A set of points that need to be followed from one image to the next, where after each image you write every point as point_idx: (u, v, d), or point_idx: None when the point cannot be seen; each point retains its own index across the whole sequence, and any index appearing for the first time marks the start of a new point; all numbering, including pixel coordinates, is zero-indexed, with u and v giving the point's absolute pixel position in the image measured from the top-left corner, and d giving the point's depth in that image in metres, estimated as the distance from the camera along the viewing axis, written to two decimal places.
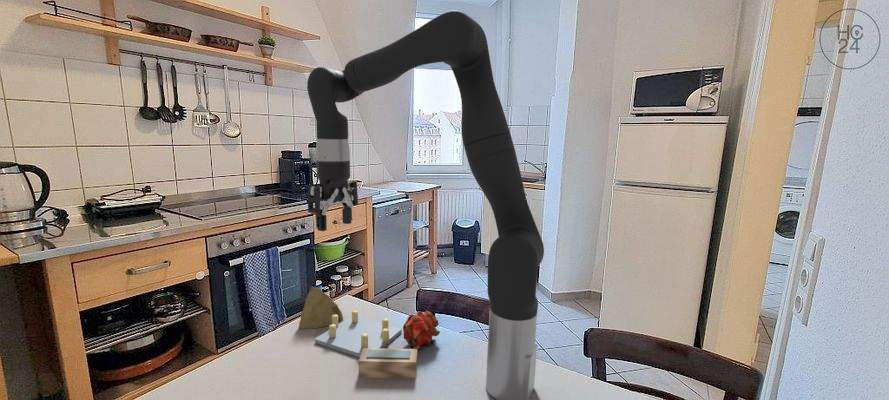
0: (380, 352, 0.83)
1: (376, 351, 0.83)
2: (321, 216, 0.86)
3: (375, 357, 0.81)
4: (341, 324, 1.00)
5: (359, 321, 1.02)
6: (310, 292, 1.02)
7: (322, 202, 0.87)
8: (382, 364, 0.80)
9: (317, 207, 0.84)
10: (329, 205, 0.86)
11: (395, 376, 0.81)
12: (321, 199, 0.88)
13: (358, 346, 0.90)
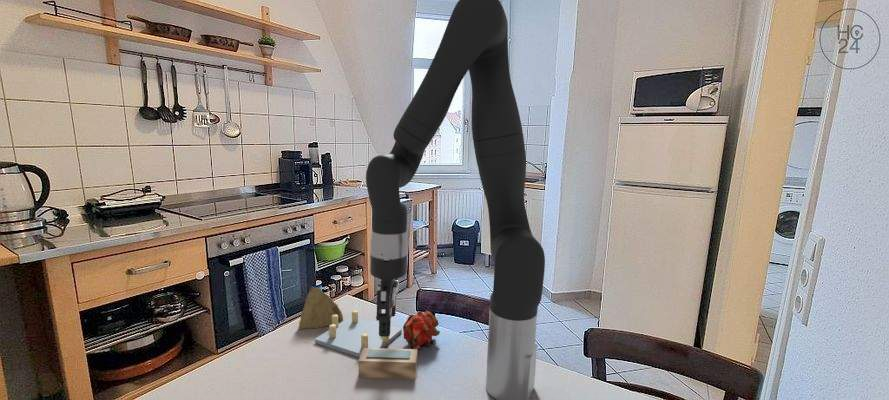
0: (380, 352, 0.83)
1: (376, 351, 0.83)
2: None
3: (375, 357, 0.81)
4: (341, 324, 1.00)
5: (359, 321, 1.02)
6: (310, 292, 1.02)
7: None
8: (382, 364, 0.80)
9: None
10: None
11: (395, 376, 0.80)
12: None
13: (358, 346, 0.90)
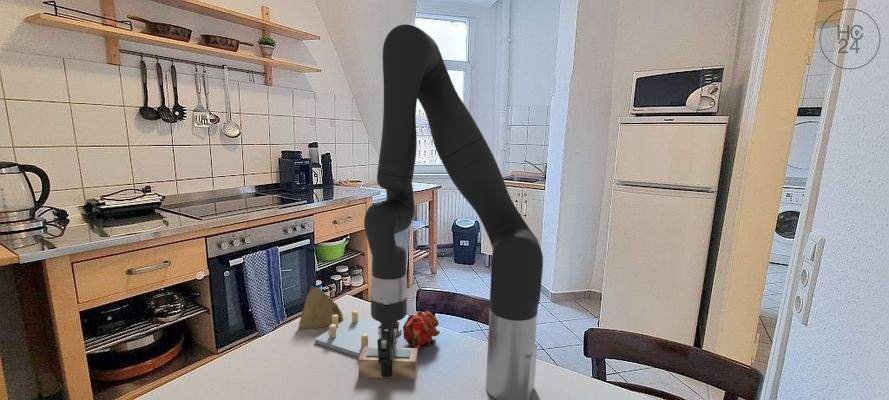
0: None
1: (376, 350, 0.83)
2: None
3: (375, 356, 0.81)
4: (341, 324, 1.00)
5: (359, 321, 1.02)
6: (310, 292, 1.02)
7: None
8: None
9: None
10: None
11: (395, 375, 0.80)
12: None
13: (358, 346, 0.90)
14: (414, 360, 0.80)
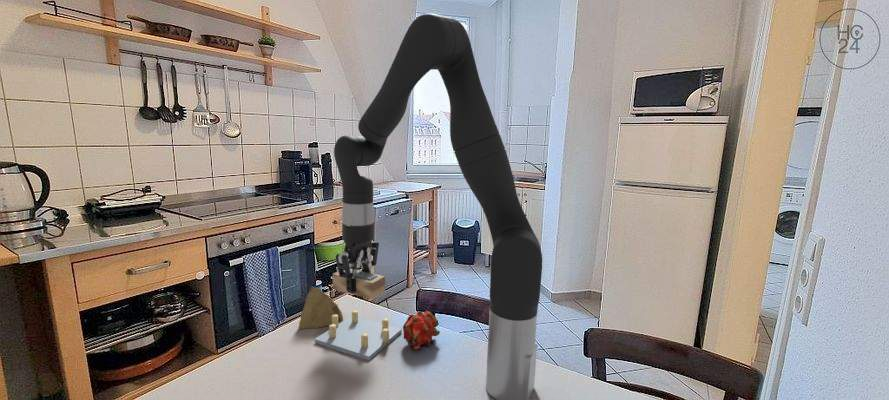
0: None
1: (351, 270, 0.95)
2: None
3: None
4: (341, 324, 1.00)
5: (359, 321, 1.02)
6: (310, 292, 1.02)
7: None
8: None
9: None
10: None
11: (358, 293, 0.91)
12: None
13: (358, 346, 0.90)
14: (372, 282, 0.89)
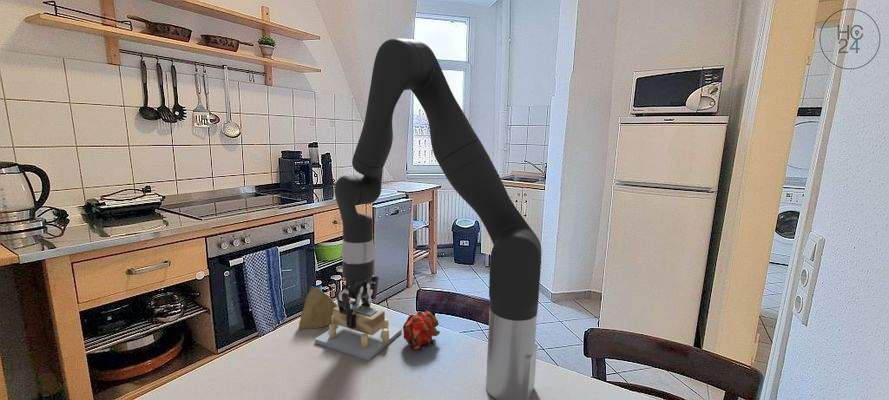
0: None
1: (351, 305, 0.96)
2: None
3: None
4: None
5: None
6: (310, 292, 1.02)
7: None
8: None
9: None
10: None
11: (357, 328, 0.92)
12: None
13: (358, 346, 0.90)
14: (372, 318, 0.90)
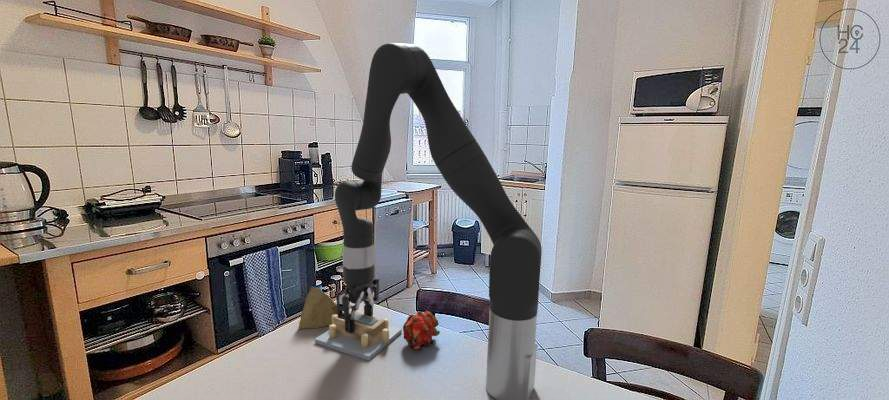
0: None
1: None
2: None
3: None
4: None
5: None
6: (310, 292, 1.02)
7: None
8: None
9: None
10: None
11: (359, 337, 0.93)
12: None
13: (358, 346, 0.90)
14: (373, 328, 0.91)
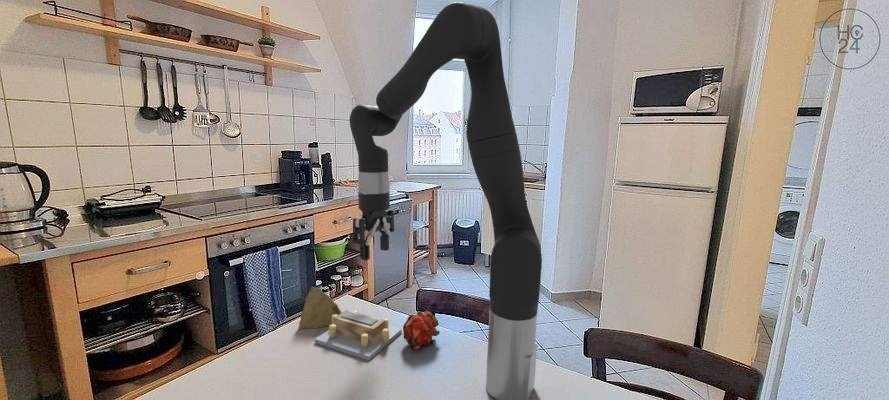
0: (354, 315, 0.96)
1: (352, 314, 0.97)
2: None
3: (347, 318, 0.95)
4: None
5: None
6: (310, 292, 1.02)
7: None
8: (349, 324, 0.93)
9: None
10: None
11: (359, 337, 0.93)
12: None
13: (358, 346, 0.90)
14: (373, 328, 0.91)
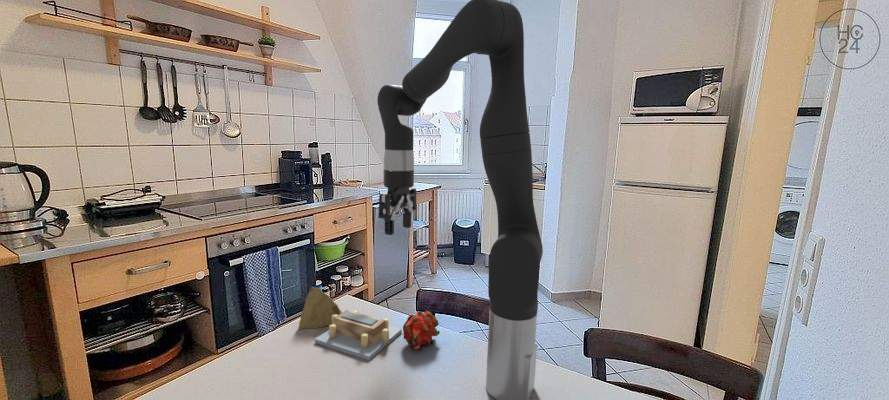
0: (354, 315, 0.96)
1: (352, 314, 0.97)
2: None
3: (347, 318, 0.95)
4: None
5: None
6: (310, 292, 1.02)
7: None
8: (349, 324, 0.93)
9: None
10: None
11: (359, 337, 0.93)
12: None
13: (358, 346, 0.90)
14: (373, 328, 0.91)
